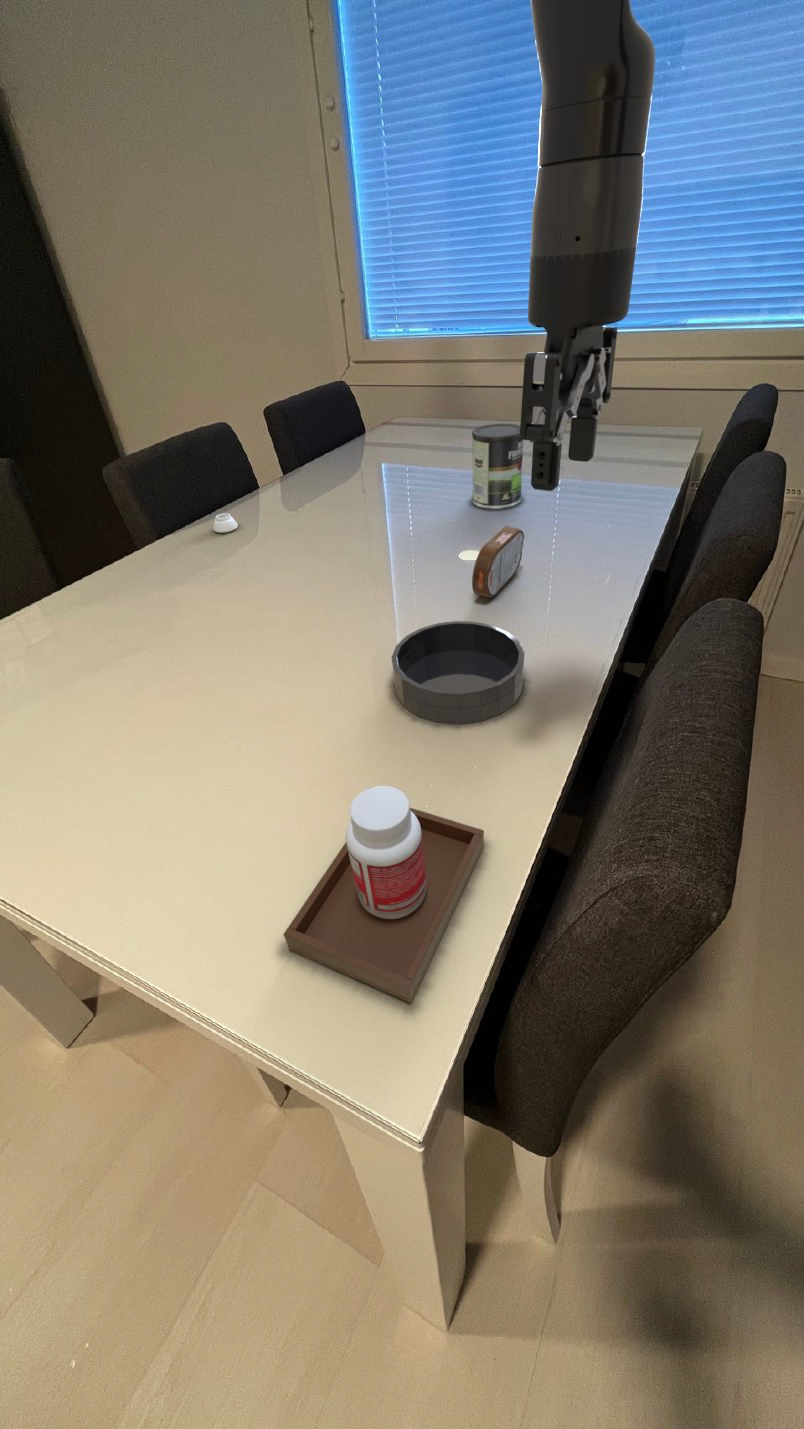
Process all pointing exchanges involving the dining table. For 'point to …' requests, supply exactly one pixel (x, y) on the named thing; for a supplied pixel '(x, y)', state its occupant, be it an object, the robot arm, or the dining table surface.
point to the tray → (387, 946)
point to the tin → (497, 561)
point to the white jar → (224, 523)
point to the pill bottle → (386, 853)
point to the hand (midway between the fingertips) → (563, 473)
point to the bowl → (458, 671)
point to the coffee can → (497, 466)
